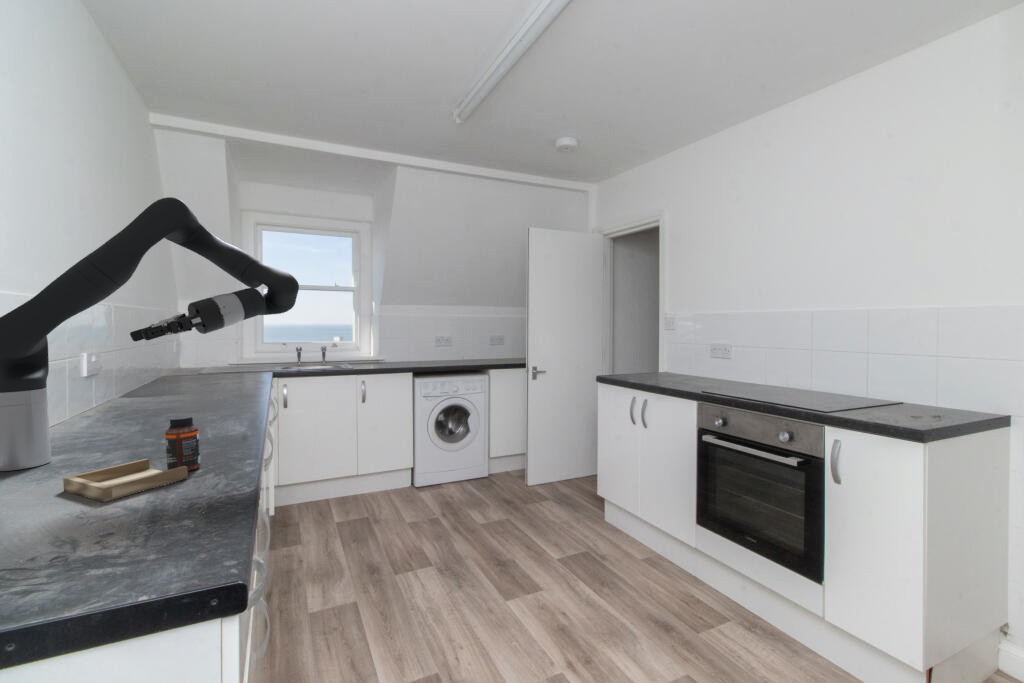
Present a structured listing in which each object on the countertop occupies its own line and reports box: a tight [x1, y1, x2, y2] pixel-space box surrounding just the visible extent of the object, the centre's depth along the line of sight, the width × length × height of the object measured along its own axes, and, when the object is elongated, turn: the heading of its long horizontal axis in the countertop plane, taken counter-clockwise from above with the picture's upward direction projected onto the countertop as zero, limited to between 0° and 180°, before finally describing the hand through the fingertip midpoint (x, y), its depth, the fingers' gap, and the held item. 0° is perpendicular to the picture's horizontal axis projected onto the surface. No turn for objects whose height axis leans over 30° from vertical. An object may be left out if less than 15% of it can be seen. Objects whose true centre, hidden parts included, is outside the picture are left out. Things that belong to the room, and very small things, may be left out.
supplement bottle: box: [164, 415, 201, 472], centre depth 105 cm, size 6×6×11 cm
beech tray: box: [62, 458, 189, 503], centre depth 95 cm, size 15×14×2 cm
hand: (137, 336), depth 102 cm, fingers open, 8 cm apart
